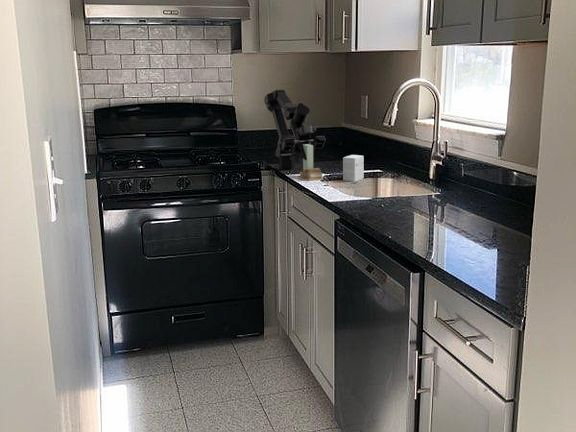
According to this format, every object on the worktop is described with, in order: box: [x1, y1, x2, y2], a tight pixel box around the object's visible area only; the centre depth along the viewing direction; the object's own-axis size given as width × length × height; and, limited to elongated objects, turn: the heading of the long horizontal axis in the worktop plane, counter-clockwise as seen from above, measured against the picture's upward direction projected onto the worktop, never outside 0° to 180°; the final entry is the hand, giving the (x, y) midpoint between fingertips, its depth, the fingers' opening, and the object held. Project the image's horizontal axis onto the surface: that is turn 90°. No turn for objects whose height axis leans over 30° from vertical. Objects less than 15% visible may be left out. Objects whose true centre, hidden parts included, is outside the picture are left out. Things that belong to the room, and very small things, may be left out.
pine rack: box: [297, 167, 324, 182], centre depth 272 cm, size 12×7×5 cm, turn 21°
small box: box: [342, 154, 365, 184], centre depth 266 cm, size 8×6×10 cm
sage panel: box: [302, 144, 314, 170], centre depth 272 cm, size 5×3×12 cm, turn 21°
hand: (309, 159), depth 271 cm, fingers closed on sage panel, 3 cm apart
